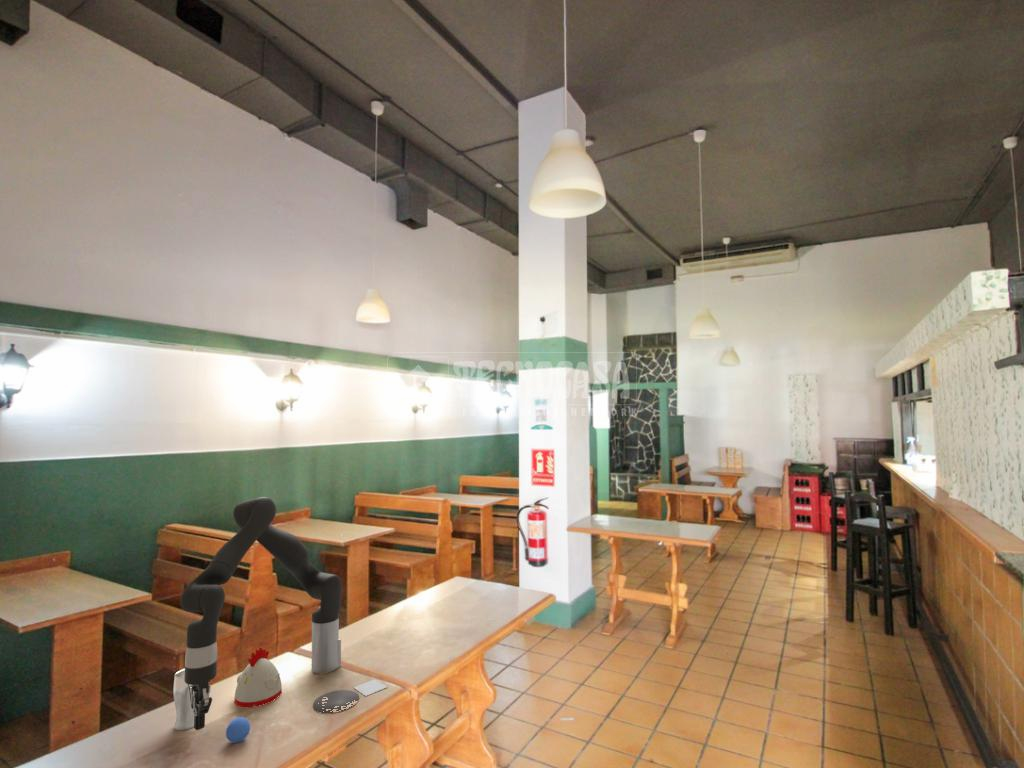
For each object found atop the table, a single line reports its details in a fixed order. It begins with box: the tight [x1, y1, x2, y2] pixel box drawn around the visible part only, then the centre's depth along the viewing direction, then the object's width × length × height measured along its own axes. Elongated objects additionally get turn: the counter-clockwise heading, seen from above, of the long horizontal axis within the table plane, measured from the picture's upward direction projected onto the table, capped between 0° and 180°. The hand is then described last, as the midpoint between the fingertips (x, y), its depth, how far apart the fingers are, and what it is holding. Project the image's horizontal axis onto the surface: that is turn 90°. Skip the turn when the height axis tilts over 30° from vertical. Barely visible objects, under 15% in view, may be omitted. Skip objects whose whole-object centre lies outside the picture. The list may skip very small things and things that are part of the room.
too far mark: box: [353, 679, 388, 697], centre depth 178 cm, size 8×8×1 cm
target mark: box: [312, 689, 360, 714], centre depth 169 cm, size 14×14×1 cm
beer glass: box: [172, 668, 194, 732], centre depth 158 cm, size 7×7×15 cm
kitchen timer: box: [234, 647, 283, 708], centre depth 174 cm, size 14×14×15 cm
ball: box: [225, 716, 251, 744], centre depth 149 cm, size 6×6×6 cm
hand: (199, 727), depth 143 cm, fingers closed
